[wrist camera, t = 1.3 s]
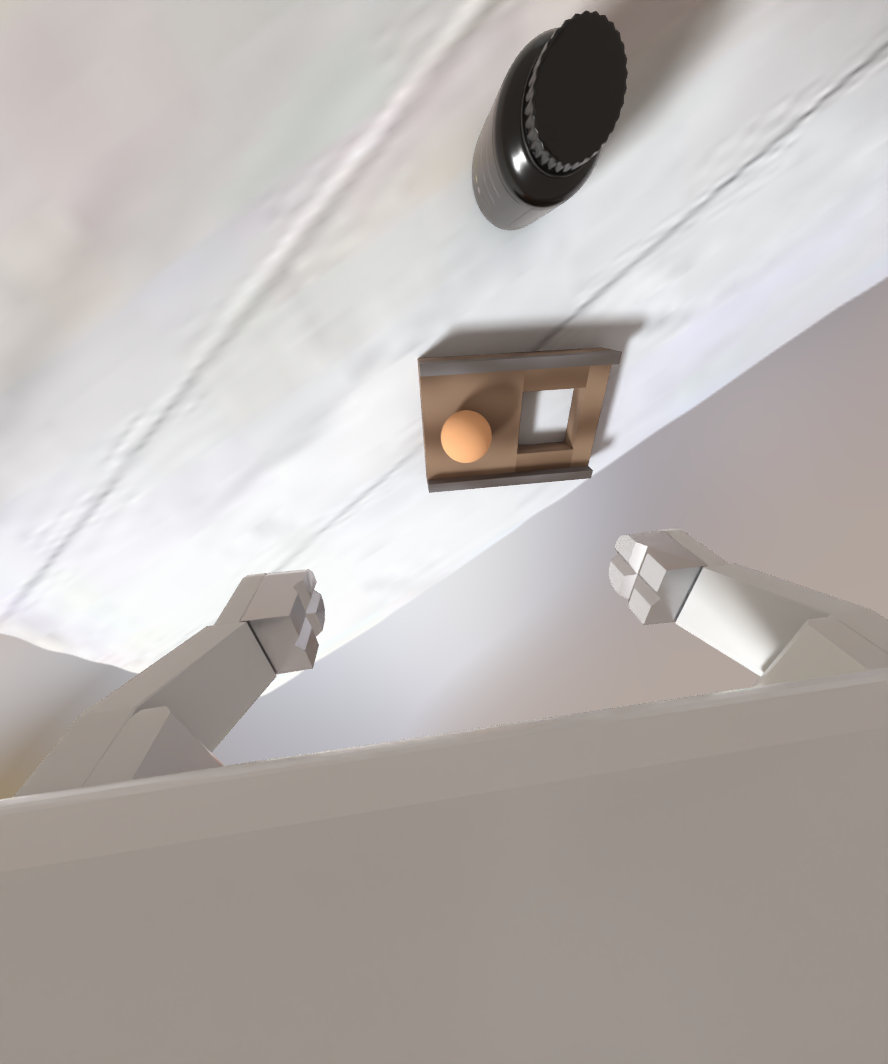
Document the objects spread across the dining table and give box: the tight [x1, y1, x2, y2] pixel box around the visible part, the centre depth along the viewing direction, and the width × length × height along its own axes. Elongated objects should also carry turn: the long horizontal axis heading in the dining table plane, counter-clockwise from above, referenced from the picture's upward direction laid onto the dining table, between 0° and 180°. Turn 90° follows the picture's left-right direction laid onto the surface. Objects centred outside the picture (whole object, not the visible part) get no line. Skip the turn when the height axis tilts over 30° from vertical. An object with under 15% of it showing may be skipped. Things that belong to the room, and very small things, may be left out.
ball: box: [441, 410, 492, 463], centre depth 32 cm, size 5×5×5 cm
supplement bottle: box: [472, 11, 628, 230], centre depth 21 cm, size 7×7×12 cm
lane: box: [418, 348, 622, 493], centre depth 35 cm, size 13×19×4 cm
